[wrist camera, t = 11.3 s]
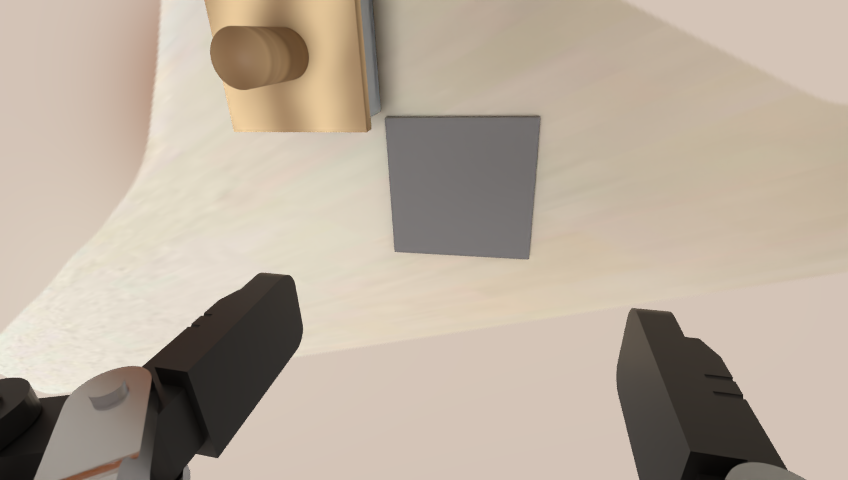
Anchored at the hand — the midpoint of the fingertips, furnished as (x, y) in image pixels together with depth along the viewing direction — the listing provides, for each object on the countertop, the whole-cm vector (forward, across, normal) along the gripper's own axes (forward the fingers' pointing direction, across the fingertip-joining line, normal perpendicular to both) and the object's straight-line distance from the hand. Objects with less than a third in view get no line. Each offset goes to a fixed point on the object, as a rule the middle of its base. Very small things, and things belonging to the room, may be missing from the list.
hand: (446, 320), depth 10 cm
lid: (+23, +15, -5) cm, 28 cm away
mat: (+28, +4, +7) cm, 29 cm away
